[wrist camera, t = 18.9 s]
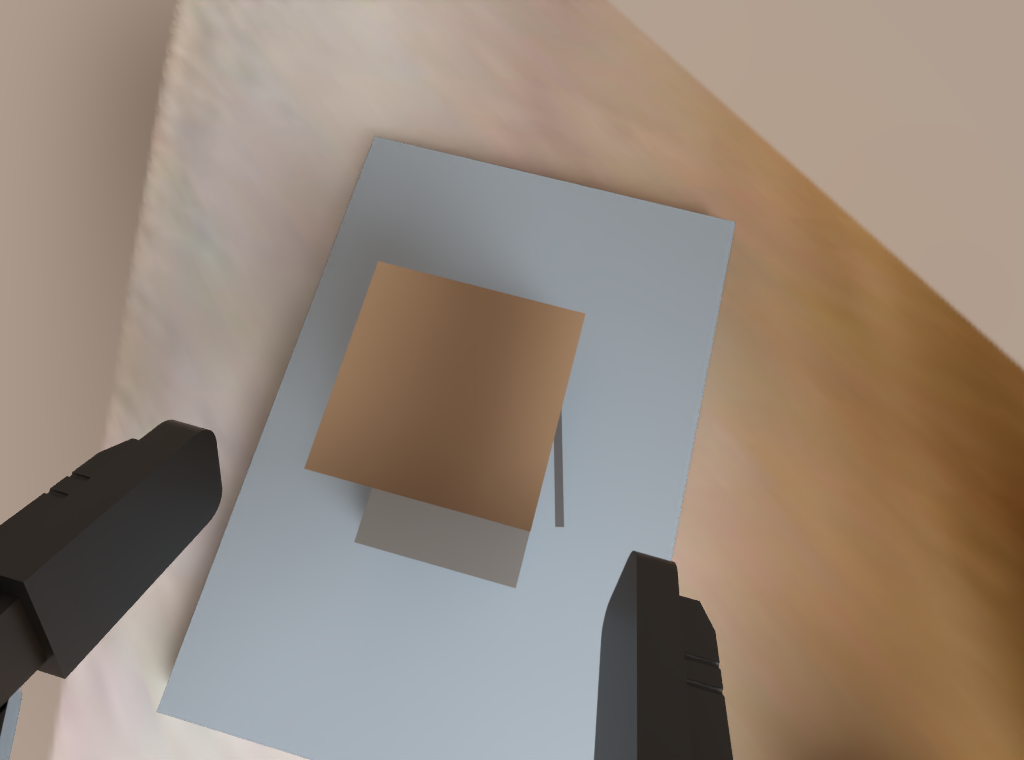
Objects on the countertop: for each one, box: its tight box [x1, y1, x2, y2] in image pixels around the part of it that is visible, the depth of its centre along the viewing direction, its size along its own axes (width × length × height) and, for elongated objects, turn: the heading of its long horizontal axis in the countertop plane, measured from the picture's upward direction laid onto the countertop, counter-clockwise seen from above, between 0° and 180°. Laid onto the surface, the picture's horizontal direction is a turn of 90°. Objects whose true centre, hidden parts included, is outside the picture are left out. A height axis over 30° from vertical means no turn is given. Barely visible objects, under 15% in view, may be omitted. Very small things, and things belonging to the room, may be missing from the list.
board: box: [157, 136, 736, 760], centre depth 21 cm, size 15×22×2 cm
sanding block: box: [304, 261, 585, 588], centre depth 15 cm, size 5×8×9 cm, turn 165°
